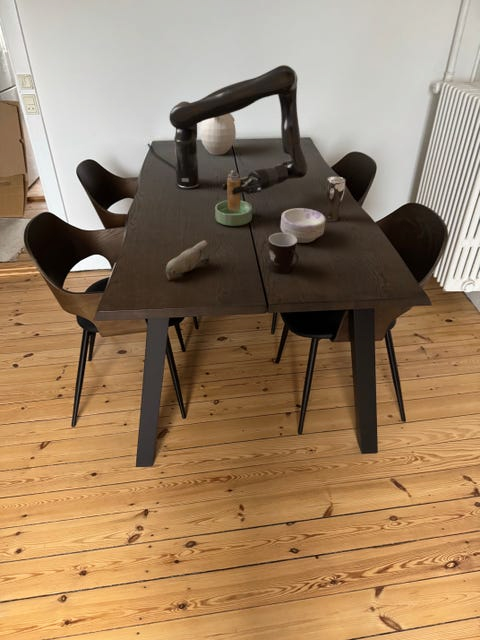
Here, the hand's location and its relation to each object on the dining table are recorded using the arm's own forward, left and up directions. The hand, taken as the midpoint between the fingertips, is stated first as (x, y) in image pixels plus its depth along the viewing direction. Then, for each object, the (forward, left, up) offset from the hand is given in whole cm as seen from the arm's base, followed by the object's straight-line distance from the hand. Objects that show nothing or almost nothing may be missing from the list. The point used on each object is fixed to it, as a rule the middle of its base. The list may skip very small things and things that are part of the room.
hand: (228, 189), depth 154 cm
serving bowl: (0, +3, -12) cm, 13 cm away
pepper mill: (0, +3, -8) cm, 8 cm away
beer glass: (+22, +33, -13) cm, 41 cm away
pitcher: (-70, +48, -13) cm, 86 cm away
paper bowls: (+26, +13, -13) cm, 31 cm away
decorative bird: (+20, -31, -13) cm, 39 cm away
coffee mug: (+38, -8, -13) cm, 41 cm away
